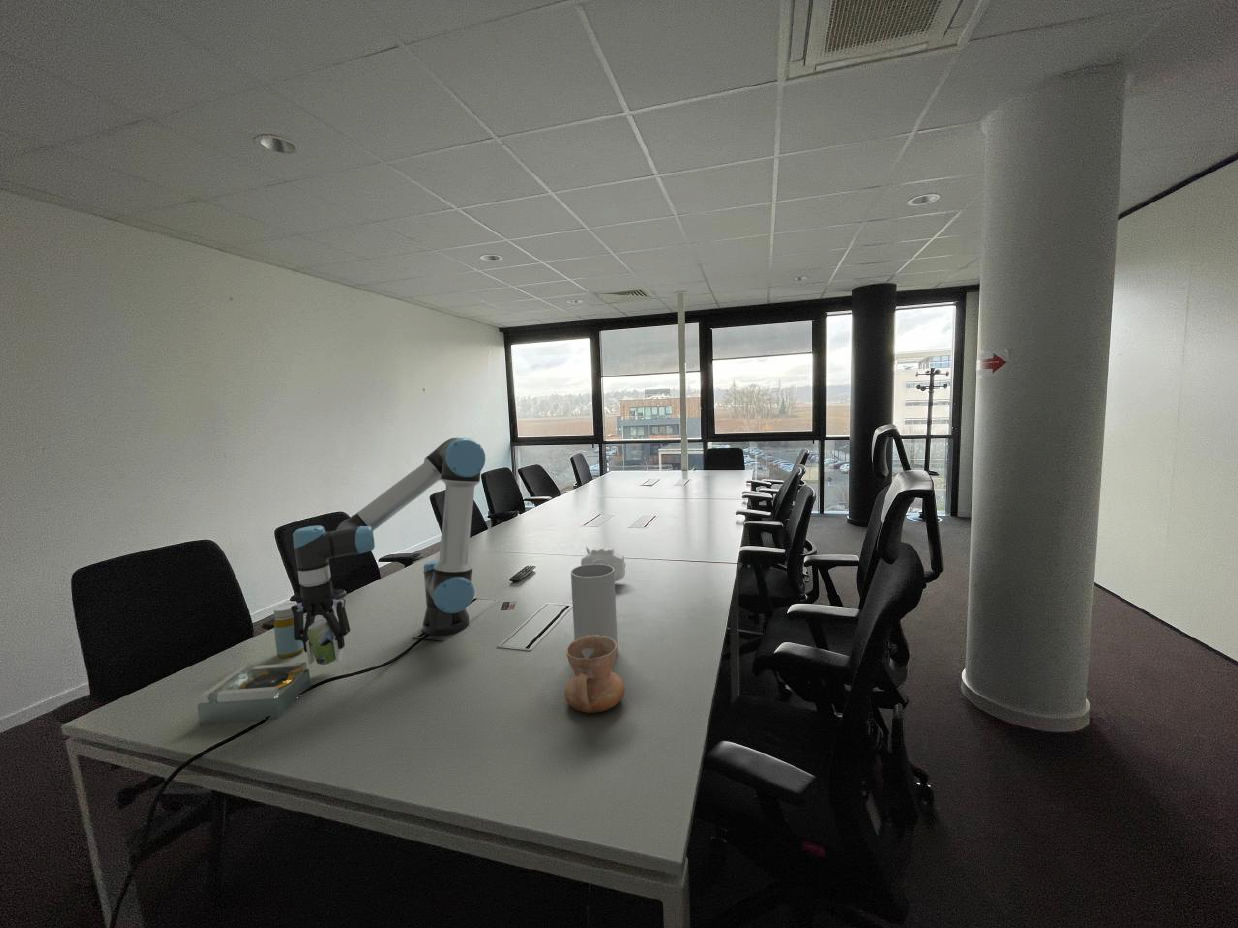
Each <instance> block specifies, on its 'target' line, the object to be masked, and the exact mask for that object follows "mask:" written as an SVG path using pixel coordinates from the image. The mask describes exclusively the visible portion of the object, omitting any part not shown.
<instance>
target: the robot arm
mask: <svg viewBox="0 0 1238 928" xmlns="http://www.w3.org/2000/svg"><path fill="white" fill-rule="evenodd" d="M485 465H486V453H485V450H484V448H483V447H482V446H481V444H480V443H479V442H477V441H476V440H474V439H472V438H467V437H451V438H448V439H447V440H445V441H443V442H442V443H441V444H440V445H439V446H438V447H437V448H436V449H434V450H433V451H432V452H431V453H429V454H428V455H427V456H425V457H424V460H423V463H421V464H420V465H419V466H417V467H416V468H415V469H414V470H412V471H411V472H409V473H408V474H407V475H406V476H405V477H403V478H402V479H400V480H399V481H397V482H396V483H394V485H392V486H391V487H389V488H388V489H386V490H385V491H384V492H382V494H380V495H379V496H377V497H375V499H373V500H372V501H371V502H369V503H368V504H367V505H365V506H364V507H363V508H361V509H360V510H359V511H357V512H356V513H355V514H353V515H352V516H351V517H349V518H348V519H345V520H342V522H340V523H339V524H338V526H337V527H336V530H333V531H332V530H331V531H326V530H325V526H322V525H317V524H316V525H308V526H305V527H300V528H297V529H296V530H295V531H294V532H293V533H292V537H293V539H292V540H293V550H294V556H295V560H296V568H297V576H298V583H299V585H300V586H299V588H300V597H301V599H302V601H301V602H300V603H299V602H296V603H297V604H295V605H294V606H292V607H291V609H292V612H293V614H294V639H295V640H301V641H302V642H303V647H304V649H303V651H304V653H306V654H307V659H308V665H312V664H314V663H315V662H316V659H315V656H314V653H313V650H312V647H311V644H310V641H309V638H308V635H307V631H308V627H309V626H310V625H312V623H314V622H315V620H316V617H317V616H322V618H324V620H327V622H328V624H329V626H330V628H331V630H332V631H333V633H334V635H335V637H336V638H334V639H333V643H334V651H335V658H336V660H335V662H336V663H337V662H340V661H341V660H342V659H343V658H344V653H343V652H344V651H343V649H344V648H345V644H346V643H345V637H346V636H347V635H348V634H349V633H350V632H351V627H350V623H349V618H348V615H347V611H346V610H347V609H346V599H345V598H342V599H336V598H335V597H334V595H333V592H334V591H333V583H332V579H331V577H332V576H331V575H332V574H331V571H330V562H329V559H333V558H334V559H335V558H340V557H347V556H351V555H358V554H364V553H366V552H371V551H373V550H374V549H375V547H376V545H375V537H374V531H375V530H376V529H378V528H380V526H382V525H383V524H384V523H386V522H387V521H388V520H390V519H391V518H392V517H394V516H395V515H396V514H397V513H399V512H400V511H401V510H403V509H404V508H405V507H406V506H408V505H410V503H412V502H413V501H414V500H415V499H417V498H419V496H422V494H423V493H425V492H426V491H428V490H429V489H430V488H431V487H433V486H434V485H435V484H437V483H438V482H439V481H442V482H443V483H444V485H445V489H444V490H445V491H444V503H443V516H442V526H441V527H442V528H441V529H442V530H441V536H440V537H441V538H440V541H441V542H440V552H439V559H436V560H431V561H428V562H426V563H425V564H424V565H423V573H422V574H423V576H424V579H423V581H424V590H425V591H424V592H425V600H426V602H425V603H426V608H425V613H424V615H423V621H422V631H423V633H424V634H426V635H429V636H444V635H451V634H454V633H457V632H460V631H463V629H466V628H467V627H468V626H469V624H470V614H469V612H468V610H467V607H468V606H470V604H471V603H472V601H473V599H474V596H475V589H474V584H473V582H472V581H473V580H472V578H473V565H472V564H471V563H470V562H469V554H470V553H469V552H470V543H471V530H472V515H473V508H474V507H473V506H474V494H475V487H476V486H477V485H478V484H479V483H480V481H481V471H483V468H484V467H485ZM333 605H334V608H335V610H336V614H335V611H334V608H333ZM304 610H305V611H306V615H305V623H304Z"/></svg>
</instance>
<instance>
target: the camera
mask: <svg viewBox="0 0 1238 928" xmlns="http://www.w3.org/2000/svg"><path fill="white" fill-rule="evenodd" d="M585 547H586V554H584V555H583V556H582V557H581V559H580V560H581V561H580V566H583V565H589V564H604V565H609V566H612V567H613V568H614V574H615V582H618V581H620V580H622V579H624V577H625V574H626V571H625V569H626V562H625V556H624V554H622V553H619V552H617V551H615V549H614V547H606V546H603V545H602V546H600V547H593V548H592V549H591V550H590V549H589V547H587V546H585Z"/></svg>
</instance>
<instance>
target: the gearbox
mask: <svg viewBox="0 0 1238 928" xmlns="http://www.w3.org/2000/svg"><path fill="white" fill-rule="evenodd" d="M250 670H251V672H250V673H248V667H247V666H240V667H239V668H237V669H236V670H234V671H233V672H231V673H230V674H229V675H227V676H225V677H224V678H223V679H222V680H221V681H219V682H217V683H216V684H214V686H212V687H211V688H209V689H207V690H206V691H205V692H203V693H202V694H201V695H200V702H199V703H197V710H198V717H199V724H200V725H209V724H222V723H224V724H225V723H232V722H233V723H234V722H237V723H238V722H247V721H248V722H249V721H260V720H262V719H263V720H265V719H264V718H266V717H268V716H270V717H269V718H268V719H267V720H269V719H270V720H274V719H279V718H280V717H282V716H283V715H284V713H286V712H287V711H288V710H289V709H290V708H291V707H292V706H293V705H294V704H295V703H296V702H297V701H298V700H299V699H300V698H301V697H302V696H303V695H301V696H298V695H299V694H301V693H302V692H303V691H305V690H306V689H308V688H309V687H310V686H311V687H312V685H311V684H312V683H311V674H310V669H309V668H307V662H294V663H293V662H292V663H281V664H280V663H279V664H268V665H267V664H265V665H255V666H253V667H252V668H251V669H250ZM311 687H310V688H311ZM310 688H309V689H310ZM309 689H308V690H309ZM296 696H298V698H296Z"/></svg>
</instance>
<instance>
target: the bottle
mask: <svg viewBox="0 0 1238 928" xmlns="http://www.w3.org/2000/svg"><path fill="white" fill-rule="evenodd" d="M297 603H298V602H289V603H284V604H281V605H278V606H275V607H273V614H274V615H273V616H274V621H273V630H274V639H275V640H274V641H275V650H276V654H277V657H279V658H280V659H288V658H292V657H295V656H298V655H300V654H301V653H302V652H303V651H304V647H303V642H302V641H301V640H295V639H294V614H293V612H292V609H291V607H292V606H294V605H295V604H297Z"/></svg>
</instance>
